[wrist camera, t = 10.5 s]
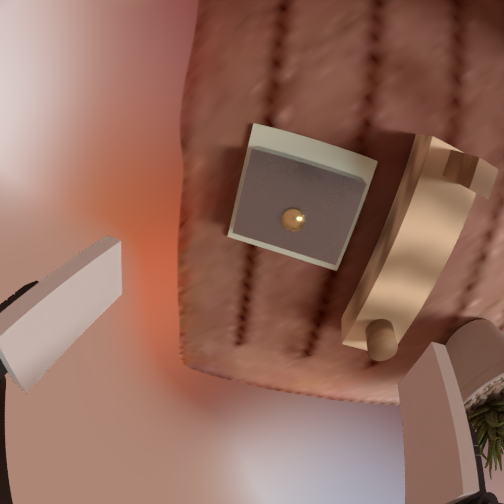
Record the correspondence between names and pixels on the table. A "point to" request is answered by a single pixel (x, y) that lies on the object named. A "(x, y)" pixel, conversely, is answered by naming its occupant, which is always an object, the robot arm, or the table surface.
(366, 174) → the felt pad
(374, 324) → the body
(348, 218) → the grey block with knob
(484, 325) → the potted plant
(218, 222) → the table surface
